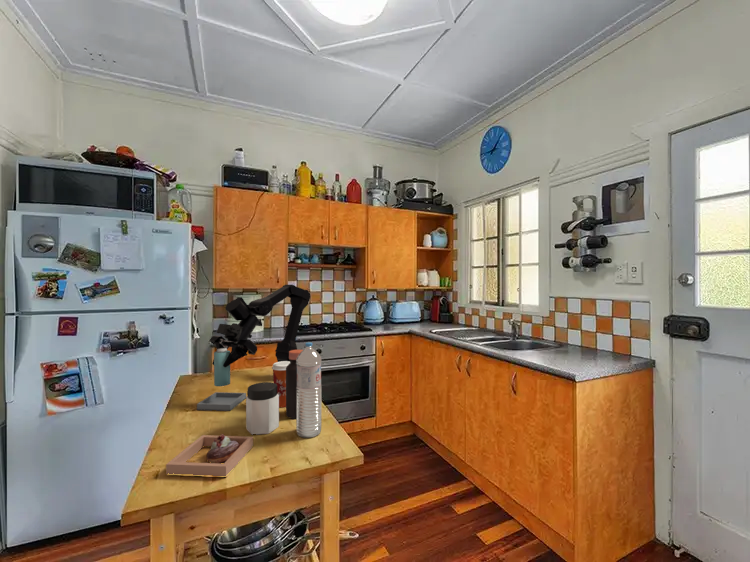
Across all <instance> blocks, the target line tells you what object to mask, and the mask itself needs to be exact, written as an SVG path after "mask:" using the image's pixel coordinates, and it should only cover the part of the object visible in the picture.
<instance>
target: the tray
mask: <svg viewBox="0 0 750 562" xmlns="http://www.w3.org/2000/svg"><path fill="white" fill-rule="evenodd" d="M246 397H247V392H228V391H227V392H226V391H225V392H224V391H223V392H222V391H221V392H220V391H216V392H214V393H212V394H210V395H209V396H207V397H206V398H204V399H202V400H201V401H199V402H198V403H196V411H212V410H216V412H221V411H222V412H231V411H232V410H234V409H235V408H236V407H237V406H238V405H240V404H241V403H242V402H244V401H245V400H246Z"/></svg>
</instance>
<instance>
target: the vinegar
mask: <svg viewBox="0 0 750 562" xmlns="http://www.w3.org/2000/svg"><path fill="white" fill-rule="evenodd" d="M303 350H304V349H297V350H291V351H289V360H290V364H289V365H288V366H287V367H286V407H285V415H286V417H287V418H289V419H293V420H294V419H296V417H297V416H296V414H297V413H296V407H297V406H296V404H297V403H296V397H297V396H296V394H297V393H296V387H297V364H296V359H297V357H298V355H299V354H300V353H301V352H302V351H303ZM296 420H297V419H296Z"/></svg>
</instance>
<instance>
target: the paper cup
mask: <svg viewBox="0 0 750 562" xmlns="http://www.w3.org/2000/svg"><path fill="white" fill-rule="evenodd" d="M289 364H290V361H281V362H278V361H277V362H274V363H273V364H272V366H271V369H272V376H273V377H272V378H273V380H272V381H273V383H275V384H277V394H278V395H279V409H280V408H282V409H283V408H286V367H287V366H288V365H289Z"/></svg>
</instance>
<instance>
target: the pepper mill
mask: <svg viewBox="0 0 750 562" xmlns="http://www.w3.org/2000/svg"><path fill="white" fill-rule="evenodd" d="M230 353H231V350H228V349H227V348H220V349H217V351H216V350H215V351H214V352H213V360H214V365H213V372H214V373H213V382H214V385H213V386H215V387H226V386H228V385H230V384H231V364H230V365H229V366H227V367H224V366H223V365H224V363H225V361H226V359H227V357H228V356H229V354H230Z"/></svg>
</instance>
